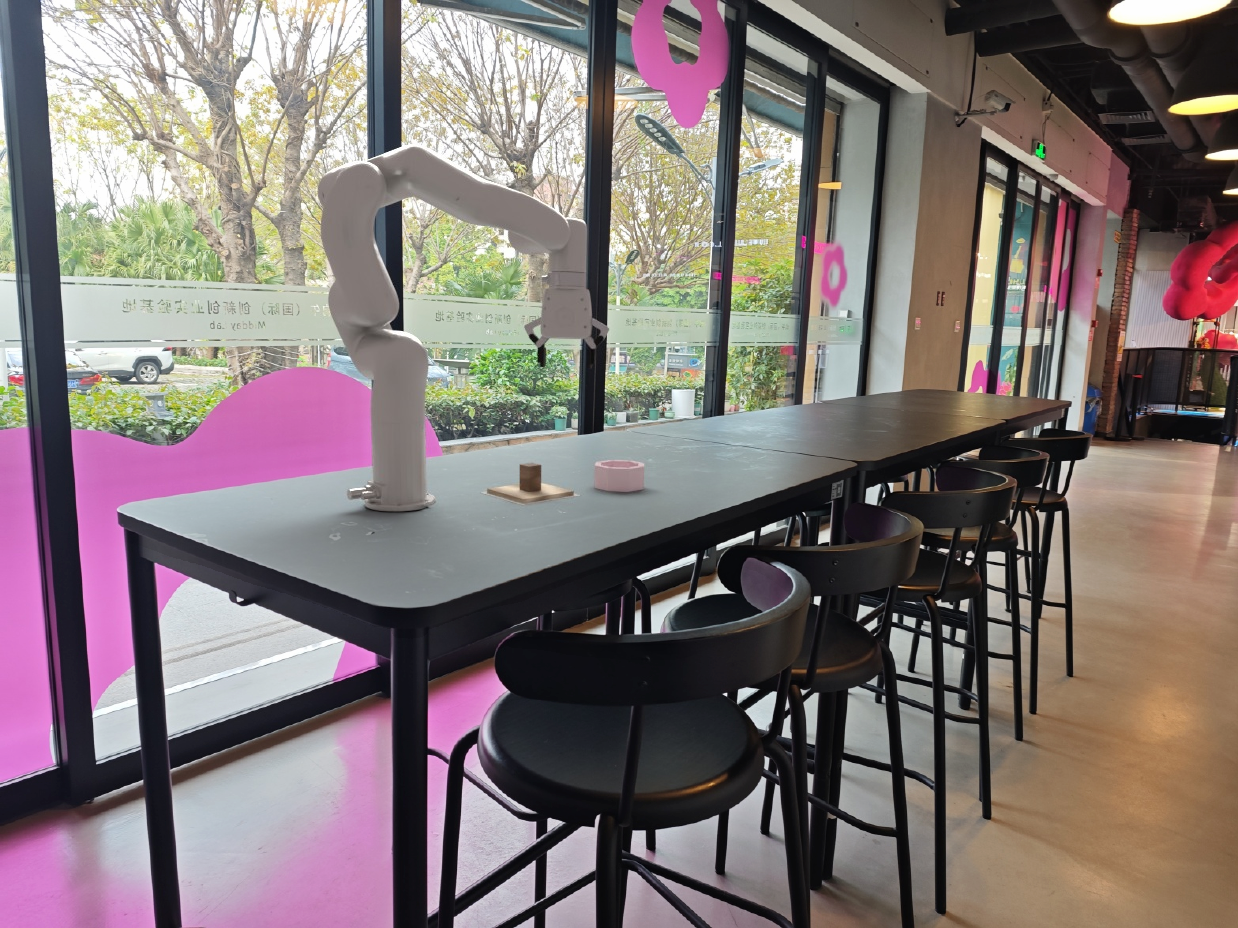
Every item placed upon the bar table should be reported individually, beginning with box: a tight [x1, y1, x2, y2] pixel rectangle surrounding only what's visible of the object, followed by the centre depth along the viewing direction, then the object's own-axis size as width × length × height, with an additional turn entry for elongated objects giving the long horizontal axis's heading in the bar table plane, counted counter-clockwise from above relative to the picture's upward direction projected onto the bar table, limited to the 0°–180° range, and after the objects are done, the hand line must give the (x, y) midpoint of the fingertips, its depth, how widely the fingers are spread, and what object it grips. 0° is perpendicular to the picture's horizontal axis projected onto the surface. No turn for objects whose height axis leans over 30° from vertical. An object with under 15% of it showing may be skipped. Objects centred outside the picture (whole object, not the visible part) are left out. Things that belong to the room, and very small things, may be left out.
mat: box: [480, 491, 581, 506], centre depth 163 cm, size 14×14×1 cm
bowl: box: [593, 459, 645, 493], centre depth 172 cm, size 10×10×5 cm
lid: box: [486, 462, 575, 503], centre depth 162 cm, size 12×12×6 cm
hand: (566, 367), depth 171 cm, fingers open, 9 cm apart
